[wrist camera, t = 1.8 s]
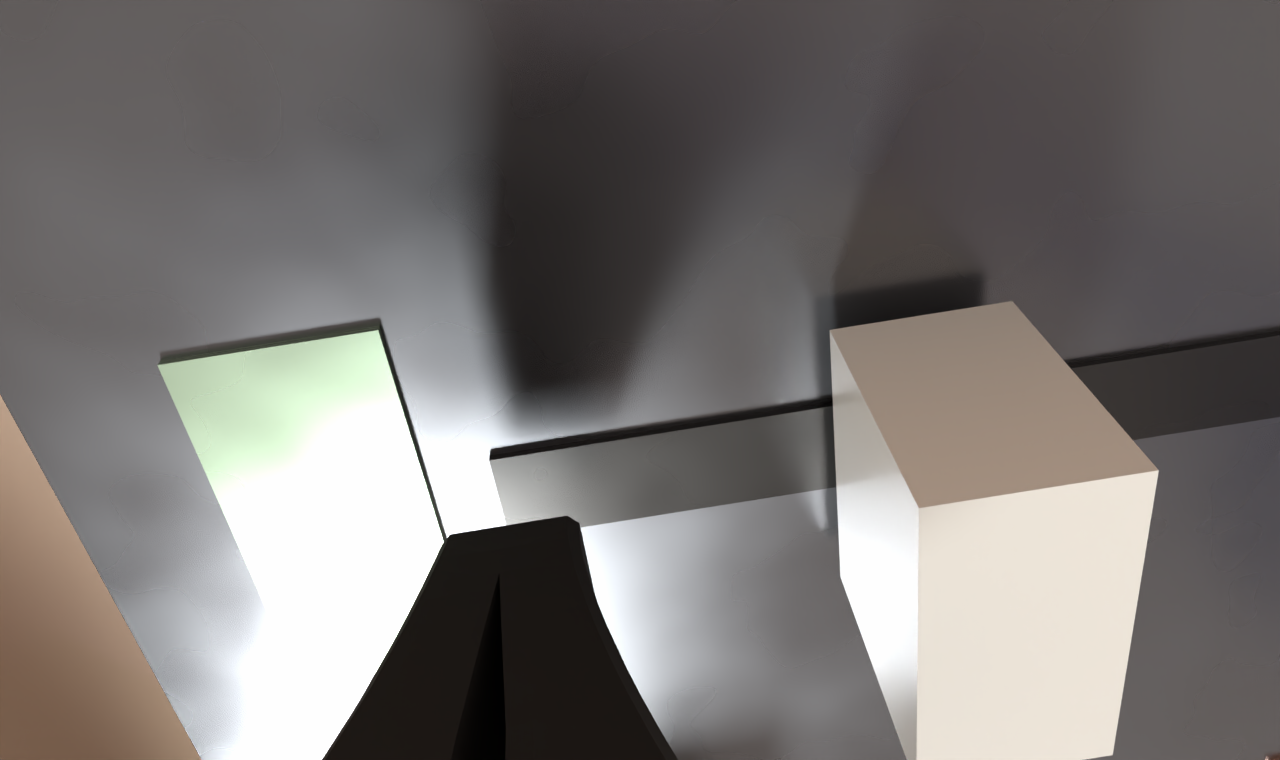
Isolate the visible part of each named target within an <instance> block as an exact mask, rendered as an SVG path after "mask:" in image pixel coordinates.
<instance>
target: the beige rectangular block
mask: <svg viewBox="0 0 1280 760" xmlns="http://www.w3.org/2000/svg"><path fill="white" fill-rule="evenodd" d="M830 351H831V374H832V397H833V420H834V442H835V465H836V488H837V510H838V533H839V556H840V577H841V580H842V583H843V585H844V588H845V591H846V594H847V596H848V599H849V602H850V605H851V607H852V610H853V613H854V616H855V618H856V621H857V624H858V627H859V629H860V632H861V635H862V638H863V641H864V643H865V646H866V649H867V652H868V654H869V657H870V660H871V663H872V665H873V668H874V671H875V674H876V676H877V679H878V682H879V685H880V687H881V690H882V693H883V696H884V698H885V701H886V704H887V707H888V709H889V712H890V715H891V718H892V720H893V723H894V726H895V729H896V731H897V734H898V737H899V740H900V742H901V745H902V748H903V751H904V754H905V756H906V759H907V760H1085V759H1091V758H1098V757H1104V756H1110V755H1113V750H1114V744H1115V737H1116V731H1117V725H1118V719H1119V713H1120V707H1121V700H1122V694H1123V688H1124V682H1125V676H1126V670H1127V663H1128V657H1129V651H1130V645H1131V639H1132V633H1133V626H1134V620H1135V614H1136V608H1137V602H1138V596H1139V589H1140V583H1141V577H1142V571H1143V565H1144V559H1145V552H1146V546H1147V540H1148V534H1149V528H1150V521H1151V515H1152V509H1153V503H1154V497H1155V491H1156V484H1157V478H1158V472H1159V470H1158V469H1157V468H1156V466H1155V465H1154V464H1153V463H1152V462H1151V461H1150V460H1149V458H1148V457H1147V456H1146V455H1145V454H1144V453H1143V451H1142V450H1141V449H1140V448H1139V447H1138V446H1137V445H1136V443H1135V442H1134V441H1133V440H1132V439H1131V438H1130V436H1129V435H1128V434H1127V433H1126V432H1125V431H1124V430H1123V428H1122V427H1121V426H1120V425H1119V424H1118V423H1117V421H1116V420H1115V419H1114V418H1113V417H1112V416H1111V415H1110V413H1109V412H1108V411H1107V410H1106V409H1105V408H1104V406H1103V405H1102V404H1101V403H1100V402H1099V401H1098V399H1097V398H1096V397H1095V396H1094V395H1093V394H1092V393H1091V391H1090V390H1089V389H1088V388H1087V387H1086V386H1085V384H1084V383H1083V382H1082V381H1081V380H1080V379H1079V378H1078V376H1077V375H1076V374H1075V373H1074V372H1073V371H1072V369H1071V368H1070V367H1069V366H1068V365H1067V364H1066V363H1065V361H1064V360H1063V359H1062V358H1061V357H1060V356H1059V354H1058V353H1057V352H1056V351H1055V350H1054V349H1053V347H1052V346H1051V345H1050V344H1049V343H1048V342H1047V341H1046V339H1045V338H1044V337H1043V336H1042V335H1041V334H1040V332H1039V331H1038V330H1037V329H1036V328H1035V327H1034V326H1033V324H1032V323H1031V322H1030V321H1029V320H1028V319H1027V317H1026V316H1025V315H1024V314H1023V313H1022V312H1021V311H1020V309H1019V308H1018V307H1017V306H1016V305H1015V304H1014V302H1013V301H1009V302H1003V303H997V304H990V305H984V306H978V307H971V308H965V309H959V310H952V311H946V312H940V313H934V314H927V315H921V316H915V317H908V318H902V319H896V320H889V321H883V322H877V323H870V324H864V325H858V326H852V327H845V328H839V329H833V330H830Z"/></svg>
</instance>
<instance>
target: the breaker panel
mask: <svg viewBox="0 0 1280 760" xmlns="http://www.w3.org/2000/svg"><path fill="white" fill-rule="evenodd" d="M1009 301H1013V302H1014V304H1015V305H1016V306H1017V307H1018V308H1019V309H1020V311H1021V312H1022V313H1023V314H1024V315H1025V316H1026V317H1027V319H1028V320H1029V321H1030V322H1031V323H1032V324H1033V326H1034V327H1035V328H1036V329H1037V330H1038V331H1039V332H1040V334H1041V335H1042V336H1043V337H1044V338H1045V339H1046V341H1047V342H1048V343H1049V344H1050V345H1051V346H1052V347H1053V349H1054V350H1055V351H1056V352H1057V353H1058V354H1059V356H1060V357H1061V358H1062V359H1063V360H1064V361H1065V363H1066V364H1067V365H1068V366H1069V367H1070V368H1071V369H1072V371H1073V372H1074V373H1075V374H1076V375H1077V376H1078V378H1079V379H1080V380H1081V381H1082V382H1083V383H1084V384H1085V386H1086V387H1087V388H1088V389H1089V390H1090V391H1091V393H1092V394H1093V395H1094V396H1095V397H1096V398H1097V399H1098V401H1099V402H1100V403H1101V404H1102V405H1103V406H1104V408H1105V409H1106V410H1107V411H1108V412H1109V413H1110V415H1111V416H1112V417H1113V418H1114V419H1115V420H1116V421H1117V423H1118V424H1119V425H1120V426H1121V427H1122V428H1123V430H1124V431H1125V432H1126V433H1127V434H1128V435H1129V436H1130V438H1131V439H1132V440H1133V441H1134V442H1135V443H1136V445H1137V446H1138V447H1139V448H1140V449H1141V450H1142V451H1143V453H1144V454H1145V455H1146V456H1147V457H1148V458H1149V460H1150V461H1151V462H1152V463H1153V464H1154V465H1155V466H1156V468H1157V469H1158V470H1159V472H1158V478H1157V484H1156V491H1155V497H1154V503H1153V509H1152V515H1151V521H1150V528H1149V534H1148V540H1147V546H1146V552H1145V559H1144V565H1143V571H1142V577H1141V583H1140V589H1139V596H1138V602H1137V608H1136V614H1135V620H1134V626H1133V633H1132V639H1131V645H1130V651H1129V657H1128V663H1127V670H1126V676H1125V682H1124V688H1123V694H1122V700H1121V707H1120V713H1119V719H1118V725H1117V731H1116V737H1115V744H1114V750H1113V755H1110V756H1104V757H1098V758H1091V759H1085V760H1280V0H0V395H1V396H2V398H3V400H4V402H5V404H6V406H7V407H8V409H9V411H10V413H11V415H12V416H13V418H14V420H15V422H16V424H17V426H18V427H19V429H20V431H21V433H22V435H23V436H24V438H25V440H26V442H27V444H28V446H29V447H30V449H31V451H32V453H33V455H34V456H35V458H36V460H37V462H38V464H39V465H40V467H41V469H42V471H43V473H44V475H45V476H46V478H47V480H48V482H49V484H50V485H51V487H52V489H53V491H54V493H55V495H56V496H57V498H58V500H59V502H60V504H61V505H62V507H63V509H64V511H65V513H66V515H67V516H68V518H69V520H70V522H71V524H72V525H73V527H74V529H75V531H76V533H77V534H78V536H79V538H80V540H81V542H82V544H83V545H84V547H85V549H86V551H87V553H88V554H89V556H90V558H91V560H92V562H93V564H94V565H95V567H96V569H97V571H98V573H99V574H100V576H101V578H102V580H103V582H104V584H105V585H106V587H107V589H108V591H109V593H110V594H111V596H112V598H113V600H114V602H115V604H116V605H117V607H118V609H119V611H120V613H121V614H122V616H123V618H124V620H125V622H126V623H127V625H128V627H129V629H130V631H131V633H132V634H133V636H134V638H135V640H136V642H137V643H138V645H139V647H140V649H141V651H142V653H143V654H144V656H145V658H146V660H147V662H148V663H149V665H150V667H151V669H152V671H153V673H154V674H155V676H156V678H157V680H158V682H159V683H160V685H161V687H162V689H163V691H164V693H165V694H166V696H167V698H168V700H169V702H170V703H171V705H172V707H173V709H174V711H175V712H176V714H177V716H178V718H179V720H180V722H181V723H182V725H183V727H184V729H185V731H186V732H187V734H188V736H189V738H190V740H191V742H192V743H193V745H194V747H195V749H196V751H197V752H198V754H199V756H200V758H201V760H322V759H323V757H324V755H325V754H326V752H327V751H328V749H329V748H330V746H331V745H332V743H333V741H334V740H335V738H336V737H337V735H338V734H339V732H340V730H341V729H342V727H343V726H344V724H345V723H346V721H347V720H348V718H349V716H350V715H351V713H352V712H353V710H354V708H355V707H356V705H357V703H358V702H359V700H360V698H361V697H362V695H363V693H364V692H365V690H366V688H367V686H368V685H369V683H370V681H371V679H372V677H373V676H374V674H375V672H376V670H377V669H378V667H379V665H380V663H381V662H382V660H383V658H384V656H385V655H386V653H387V651H388V649H389V648H390V646H391V644H392V642H393V641H394V639H395V637H396V635H397V633H398V631H399V629H400V627H401V626H402V624H403V622H404V620H405V618H406V616H407V614H408V612H409V610H410V608H411V607H412V605H413V603H414V601H415V599H416V597H417V595H418V593H419V591H420V589H421V587H422V585H423V583H424V581H425V579H426V577H427V575H428V572H429V570H430V568H431V566H432V564H433V562H434V560H435V558H436V556H437V554H438V552H439V549H440V547H441V545H442V544H443V542H444V541H445V540H446V539H447V538H448V536H449V535H450V534H455V533H461V532H468V531H474V530H480V529H486V528H492V527H499V526H505V525H511V524H517V523H524V522H530V521H536V520H542V519H548V518H555V517H561V516H569V517H570V518H572V519H574V520H575V521H577V522H579V523H580V527H581V532H582V537H583V541H584V546H585V551H586V555H587V560H588V565H589V569H590V574H591V578H592V583H593V588H594V592H595V596H596V599H597V602H598V605H599V607H600V610H601V612H602V615H603V617H604V620H605V622H606V624H607V627H608V629H609V631H610V633H611V635H612V637H613V639H614V642H615V644H616V646H617V648H618V650H619V652H620V655H621V657H622V659H623V661H624V663H625V665H626V667H627V670H628V671H629V673H630V675H631V677H632V679H633V681H634V683H635V685H636V687H637V689H638V691H639V693H640V695H641V696H642V698H643V700H644V702H645V704H646V705H647V707H648V709H649V711H650V712H651V714H652V716H653V718H654V720H655V721H656V723H657V725H658V727H659V729H660V730H661V732H662V734H663V735H664V737H665V739H666V740H667V742H668V744H669V745H670V747H671V749H672V750H673V752H674V754H675V755H676V757H677V759H678V760H907V759H906V756H905V754H904V751H903V748H902V745H901V742H900V740H899V737H898V734H897V731H896V729H895V726H894V723H893V720H892V718H891V715H890V712H889V709H888V707H887V704H886V701H885V698H884V696H883V693H882V690H881V687H880V685H879V682H878V679H877V676H876V674H875V671H874V668H873V665H872V663H871V660H870V657H869V654H868V652H867V649H866V646H865V643H864V641H863V638H862V635H861V632H860V629H859V627H858V624H857V621H856V618H855V616H854V613H853V610H852V607H851V605H850V602H849V599H848V596H847V594H846V591H845V588H844V585H843V583H842V580H841V577H840V556H839V533H838V510H837V488H836V465H835V442H834V420H833V397H832V374H831V351H830V330H833V329H839V328H845V327H852V326H858V325H864V324H870V323H877V322H883V321H889V320H896V319H902V318H908V317H915V316H921V315H927V314H934V313H940V312H946V311H952V310H959V309H965V308H971V307H978V306H984V305H990V304H997V303H1003V302H1009Z"/></svg>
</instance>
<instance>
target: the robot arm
mask: <svg viewBox="0 0 1280 760" xmlns="http://www.w3.org/2000/svg"><path fill="white" fill-rule="evenodd" d="M322 760H678V759H677V757H676V755H675V754H674V752H673V750H672V749H671V747H670V745H669V744H668V742H667V740H666V739H665V737H664V735H663V734H662V732H661V730H660V729H659V727H658V725H657V723H656V721H655V720H654V718H653V716H652V714H651V712H650V711H649V709H648V707H647V705H646V704H645V702H644V700H643V698H642V696H641V695H640V693H639V691H638V689H637V687H636V685H635V683H634V681H633V679H632V677H631V675H630V673H629V671H628V670H627V667H626V665H625V663H624V661H623V659H622V657H621V655H620V652H619V650H618V648H617V646H616V644H615V642H614V639H613V637H612V635H611V633H610V631H609V629H608V627H607V624H606V622H605V620H604V617H603V615H602V612H601V610H600V607H599V605H598V602H597V599H596V596H595V592H594V588H593V583H592V578H591V574H590V569H589V565H588V560H587V555H586V551H585V546H584V541H583V537H582V532H581V527H580V523H579V522H577V521H575V520H574V519H572V518H570V517H569V516H561V517H555V518H548V519H542V520H536V521H530V522H524V523H517V524H511V525H505V526H499V527H492V528H486V529H480V530H474V531H468V532H461V533H455V534H450V535H449V536H448V538H447V539H446V540H445V541H444V542H443V544H442V545H441V547H440V549H439V552H438V554H437V556H436V558H435V560H434V562H433V564H432V566H431V568H430V570H429V572H428V575H427V577H426V579H425V581H424V583H423V585H422V587H421V589H420V591H419V593H418V595H417V597H416V599H415V601H414V603H413V605H412V607H411V608H410V610H409V612H408V614H407V616H406V618H405V620H404V622H403V624H402V626H401V627H400V629H399V631H398V633H397V635H396V637H395V639H394V641H393V642H392V644H391V646H390V648H389V649H388V651H387V653H386V655H385V656H384V658H383V660H382V662H381V663H380V665H379V667H378V669H377V670H376V672H375V674H374V676H373V677H372V679H371V681H370V683H369V685H368V686H367V688H366V690H365V692H364V693H363V695H362V697H361V698H360V700H359V702H358V703H357V705H356V707H355V708H354V710H353V712H352V713H351V715H350V716H349V718H348V720H347V721H346V723H345V724H344V726H343V727H342V729H341V730H340V732H339V734H338V735H337V737H336V738H335V740H334V741H333V743H332V745H331V746H330V748H329V749H328V751H327V752H326V754H325V755H324V757H323V759H322Z"/></svg>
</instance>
